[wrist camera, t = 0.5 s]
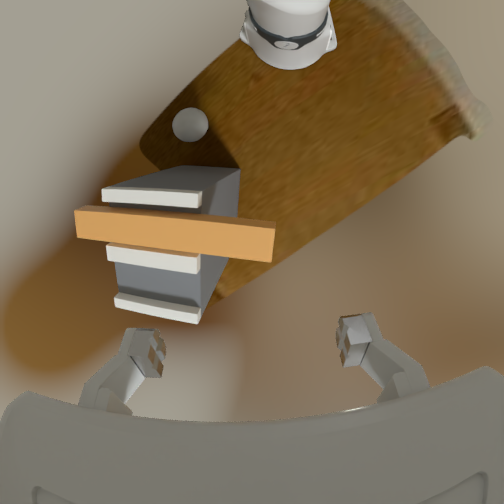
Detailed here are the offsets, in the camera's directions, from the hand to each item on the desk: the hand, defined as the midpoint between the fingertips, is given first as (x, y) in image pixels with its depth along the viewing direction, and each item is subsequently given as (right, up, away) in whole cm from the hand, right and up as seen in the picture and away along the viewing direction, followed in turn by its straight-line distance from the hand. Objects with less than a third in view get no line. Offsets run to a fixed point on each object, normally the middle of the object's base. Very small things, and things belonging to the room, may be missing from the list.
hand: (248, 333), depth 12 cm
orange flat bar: (-9, +6, +19) cm, 22 cm away
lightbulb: (-9, +28, +38) cm, 48 cm away
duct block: (-9, +13, +44) cm, 47 cm away
